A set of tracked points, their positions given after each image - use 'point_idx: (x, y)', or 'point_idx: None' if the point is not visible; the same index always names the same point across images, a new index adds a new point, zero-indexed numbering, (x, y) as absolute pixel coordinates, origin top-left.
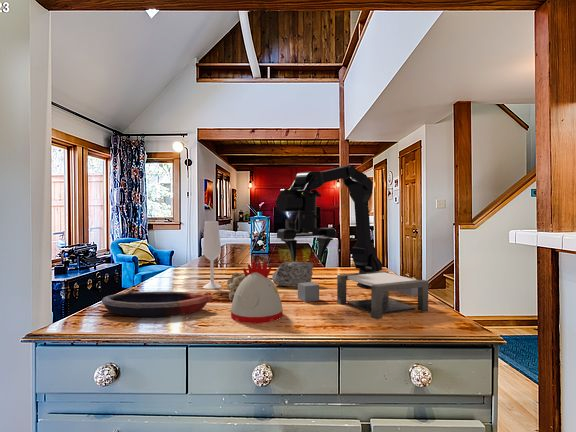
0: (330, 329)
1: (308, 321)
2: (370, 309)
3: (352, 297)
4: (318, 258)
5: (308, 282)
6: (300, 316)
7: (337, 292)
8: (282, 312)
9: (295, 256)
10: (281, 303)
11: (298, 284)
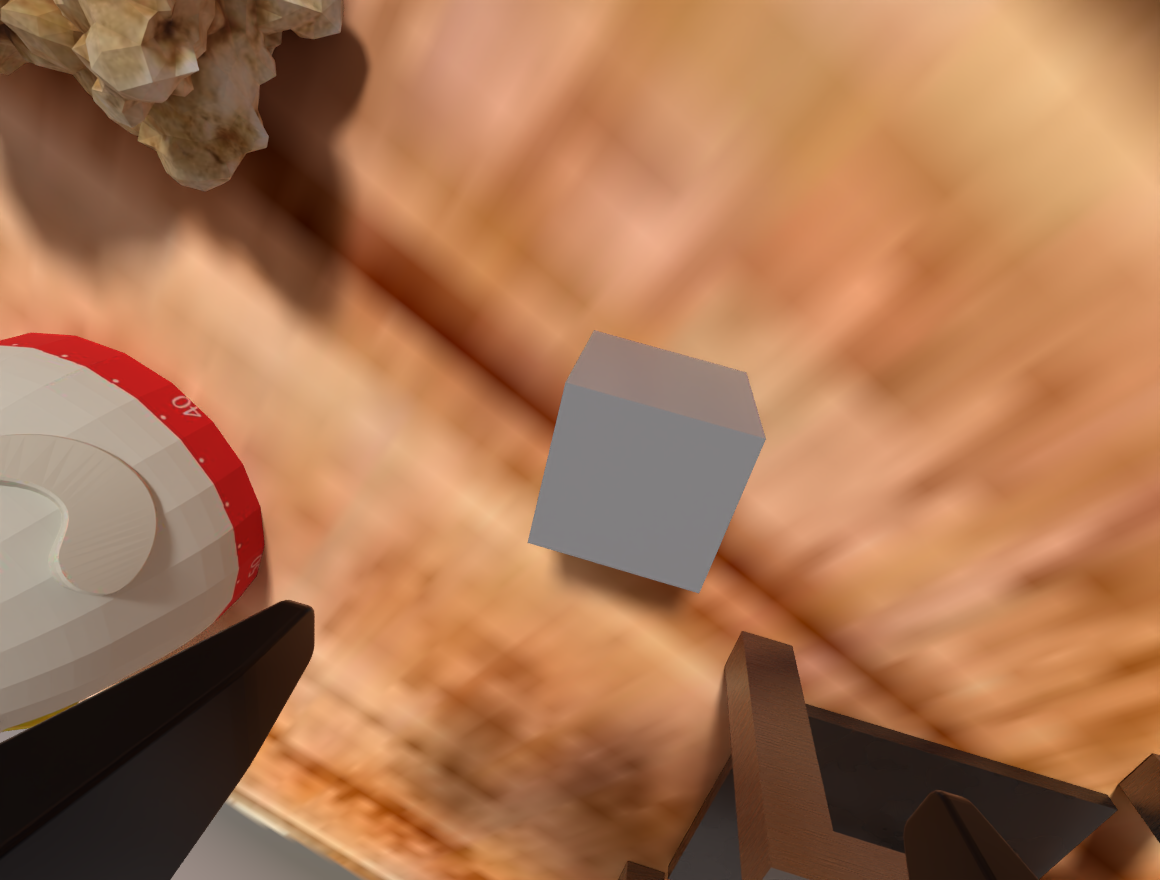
0: (353, 817)
1: (328, 718)
2: (712, 845)
3: (1002, 620)
4: (939, 816)
5: (707, 434)
6: (334, 652)
7: (747, 701)
8: (246, 586)
9: (218, 781)
10: (194, 628)
11: (562, 396)
